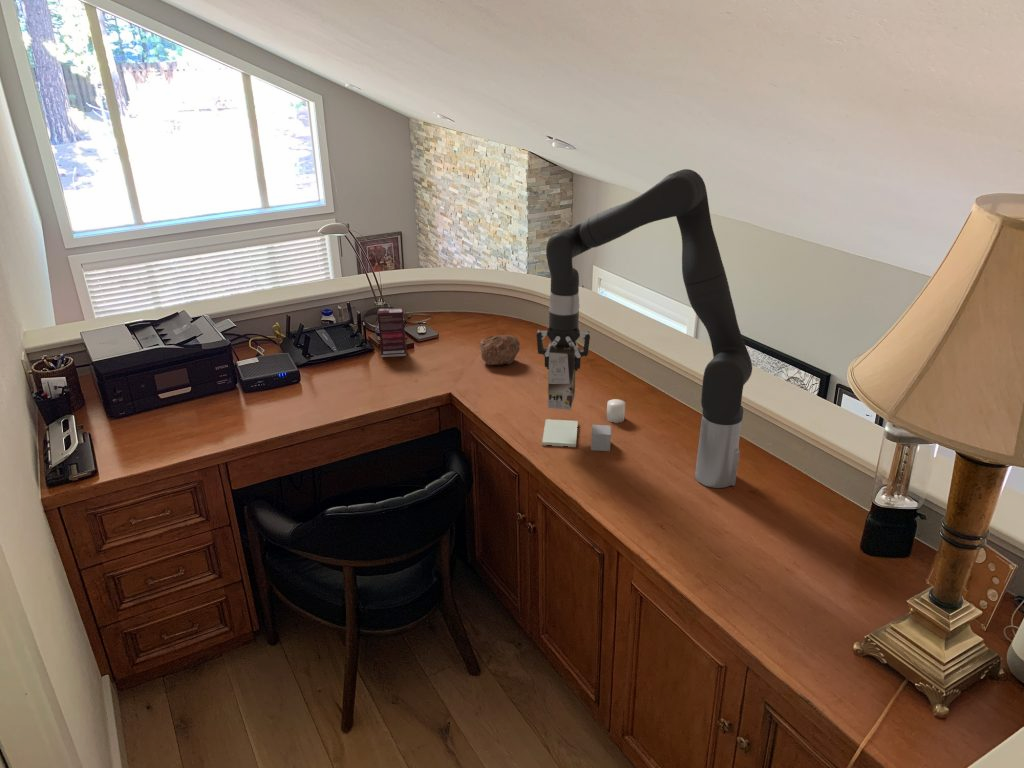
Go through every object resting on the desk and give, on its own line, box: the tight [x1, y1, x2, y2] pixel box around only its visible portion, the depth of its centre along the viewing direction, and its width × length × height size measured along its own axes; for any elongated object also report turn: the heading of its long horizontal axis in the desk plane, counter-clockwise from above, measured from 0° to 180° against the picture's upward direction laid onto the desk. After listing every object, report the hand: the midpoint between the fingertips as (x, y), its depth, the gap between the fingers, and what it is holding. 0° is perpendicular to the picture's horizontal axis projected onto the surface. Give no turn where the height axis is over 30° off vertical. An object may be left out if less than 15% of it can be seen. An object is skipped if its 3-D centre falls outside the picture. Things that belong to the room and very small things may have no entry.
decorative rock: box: [478, 334, 521, 366], centre depth 249 cm, size 13×11×10 cm
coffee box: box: [547, 341, 578, 411], centre depth 198 cm, size 9×6×16 cm
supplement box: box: [376, 307, 407, 358], centre depth 254 cm, size 9×5×16 cm, turn 97°
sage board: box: [541, 418, 579, 448], centre depth 206 cm, size 9×13×1 cm
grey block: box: [590, 424, 612, 452], centre depth 199 cm, size 5×5×5 cm
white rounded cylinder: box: [606, 398, 626, 424], centre depth 213 cm, size 5×5×5 cm
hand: (562, 368), depth 198 cm, fingers closed on coffee box, 6 cm apart
